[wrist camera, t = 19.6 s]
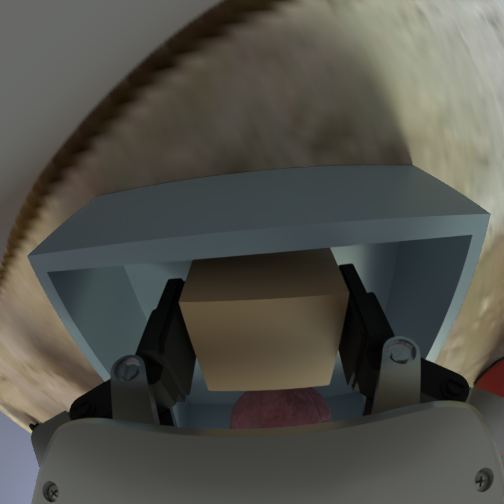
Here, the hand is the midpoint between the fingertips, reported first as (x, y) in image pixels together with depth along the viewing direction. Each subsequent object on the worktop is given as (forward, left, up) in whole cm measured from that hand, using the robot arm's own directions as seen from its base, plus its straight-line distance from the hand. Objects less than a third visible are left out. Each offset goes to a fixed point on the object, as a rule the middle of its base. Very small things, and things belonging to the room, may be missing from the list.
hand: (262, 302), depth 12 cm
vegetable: (0, +9, -2) cm, 9 cm away
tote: (0, +5, -3) cm, 5 cm away
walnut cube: (0, 0, -2) cm, 2 cm away
